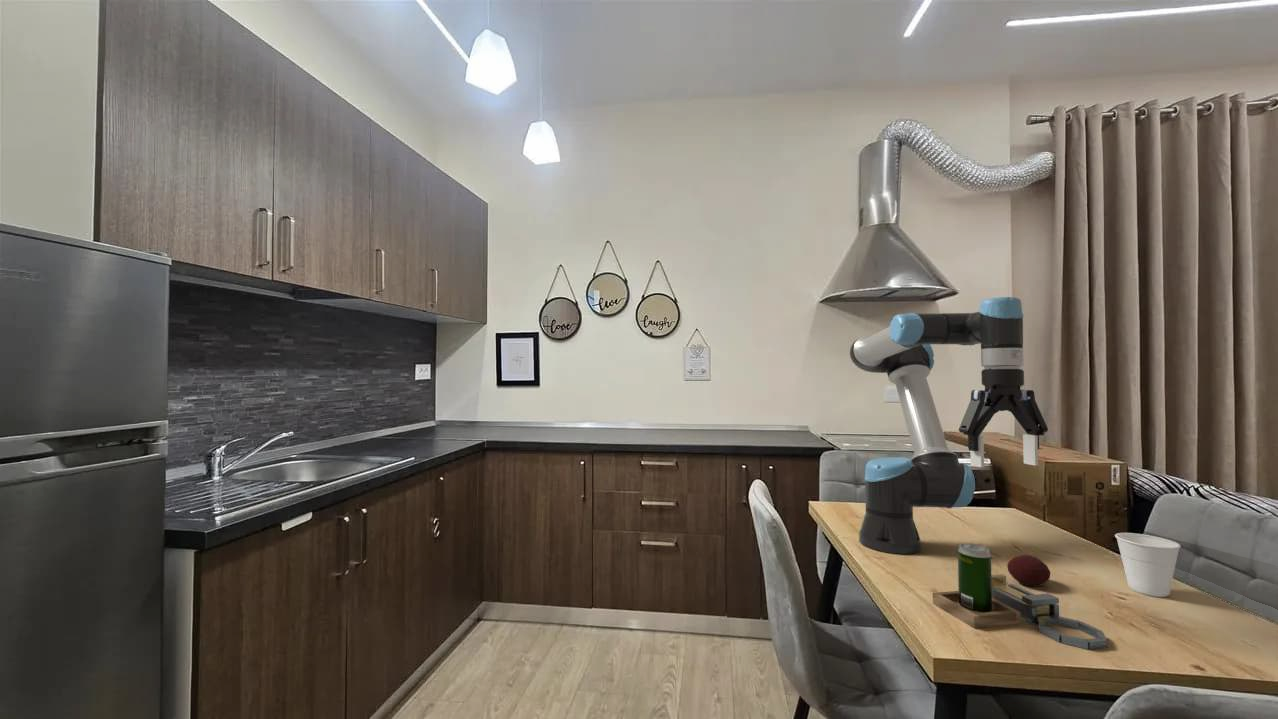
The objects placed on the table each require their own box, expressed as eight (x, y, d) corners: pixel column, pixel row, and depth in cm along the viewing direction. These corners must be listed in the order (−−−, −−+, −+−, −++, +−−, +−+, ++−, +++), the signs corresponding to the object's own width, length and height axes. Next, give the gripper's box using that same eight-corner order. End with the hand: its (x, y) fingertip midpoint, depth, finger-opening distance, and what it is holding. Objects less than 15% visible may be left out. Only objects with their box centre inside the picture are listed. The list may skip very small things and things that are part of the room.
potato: (999, 580, 112) (998, 553, 112) (1023, 574, 115) (1023, 548, 115) (1037, 593, 105) (1036, 565, 105) (1061, 586, 108) (1060, 559, 108)
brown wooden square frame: (932, 603, 100) (932, 592, 100) (975, 599, 102) (975, 589, 102) (974, 628, 90) (974, 616, 90) (1020, 623, 92) (1020, 612, 92)
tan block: (981, 595, 103) (981, 575, 103) (1002, 593, 104) (1001, 574, 104) (1032, 620, 92) (1031, 599, 92) (1054, 618, 93) (1053, 597, 93)
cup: (1167, 586, 108) (1165, 536, 108) (1194, 605, 99) (1192, 550, 99) (1107, 579, 112) (1106, 530, 113) (1129, 596, 103) (1127, 543, 104)
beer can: (984, 619, 92) (983, 554, 93) (953, 608, 97) (952, 546, 97) (996, 611, 95) (995, 548, 96) (966, 601, 100) (965, 541, 100)
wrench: (981, 601, 101) (981, 580, 101) (1019, 598, 102) (1018, 577, 102) (1076, 651, 83) (1075, 625, 83) (1120, 646, 84) (1119, 620, 84)
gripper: (966, 367, 102) (968, 470, 102) (1067, 368, 107) (1069, 466, 106) (938, 368, 110) (940, 464, 109) (1033, 368, 114) (1036, 460, 113)
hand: (1004, 465), depth 107 cm, fingers open, 13 cm apart
